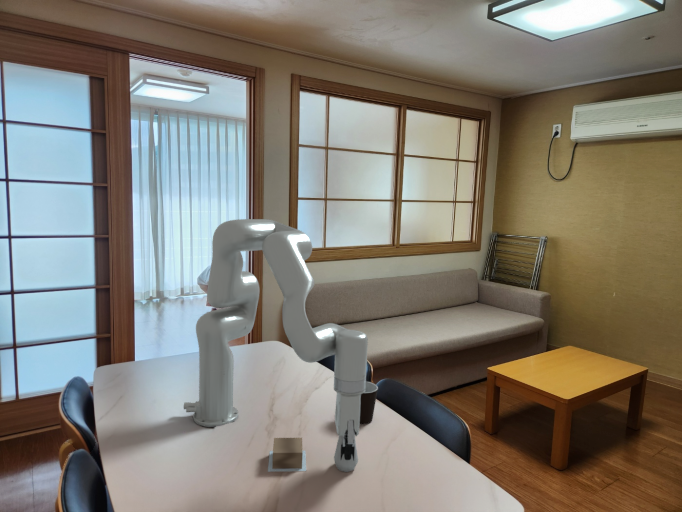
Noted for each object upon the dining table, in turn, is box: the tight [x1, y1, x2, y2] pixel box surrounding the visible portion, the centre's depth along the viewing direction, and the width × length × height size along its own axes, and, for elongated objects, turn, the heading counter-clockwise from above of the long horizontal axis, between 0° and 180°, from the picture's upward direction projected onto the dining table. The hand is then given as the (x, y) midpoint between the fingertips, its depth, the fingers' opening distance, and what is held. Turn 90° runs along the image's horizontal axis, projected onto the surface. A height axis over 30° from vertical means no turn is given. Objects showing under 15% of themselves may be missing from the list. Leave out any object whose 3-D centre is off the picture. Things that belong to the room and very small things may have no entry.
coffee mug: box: [359, 381, 379, 425], centre depth 140 cm, size 12×9×10 cm
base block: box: [272, 437, 304, 469], centre depth 114 cm, size 7×7×4 cm
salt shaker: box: [333, 431, 359, 473], centre depth 112 cm, size 6×6×13 cm
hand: (346, 456), depth 112 cm, fingers closed on salt shaker, 3 cm apart
